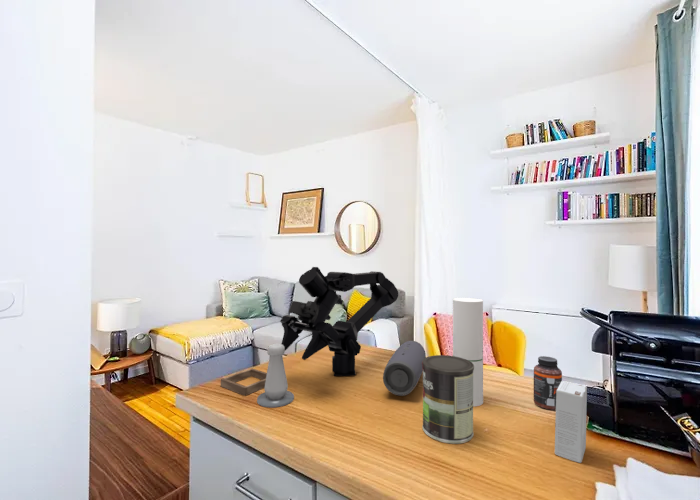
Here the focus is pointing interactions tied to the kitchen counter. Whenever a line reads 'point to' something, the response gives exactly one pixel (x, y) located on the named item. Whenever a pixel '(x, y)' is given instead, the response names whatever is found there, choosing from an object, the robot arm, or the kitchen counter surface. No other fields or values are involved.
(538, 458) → the kitchen counter surface
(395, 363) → the bluetooth speaker
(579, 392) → the skincare box
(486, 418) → the kitchen counter surface
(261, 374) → the square wooden frame
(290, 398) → the coaster
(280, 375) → the salt shaker
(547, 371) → the supplement bottle
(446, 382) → the coffee can
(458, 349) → the cylindrical container
